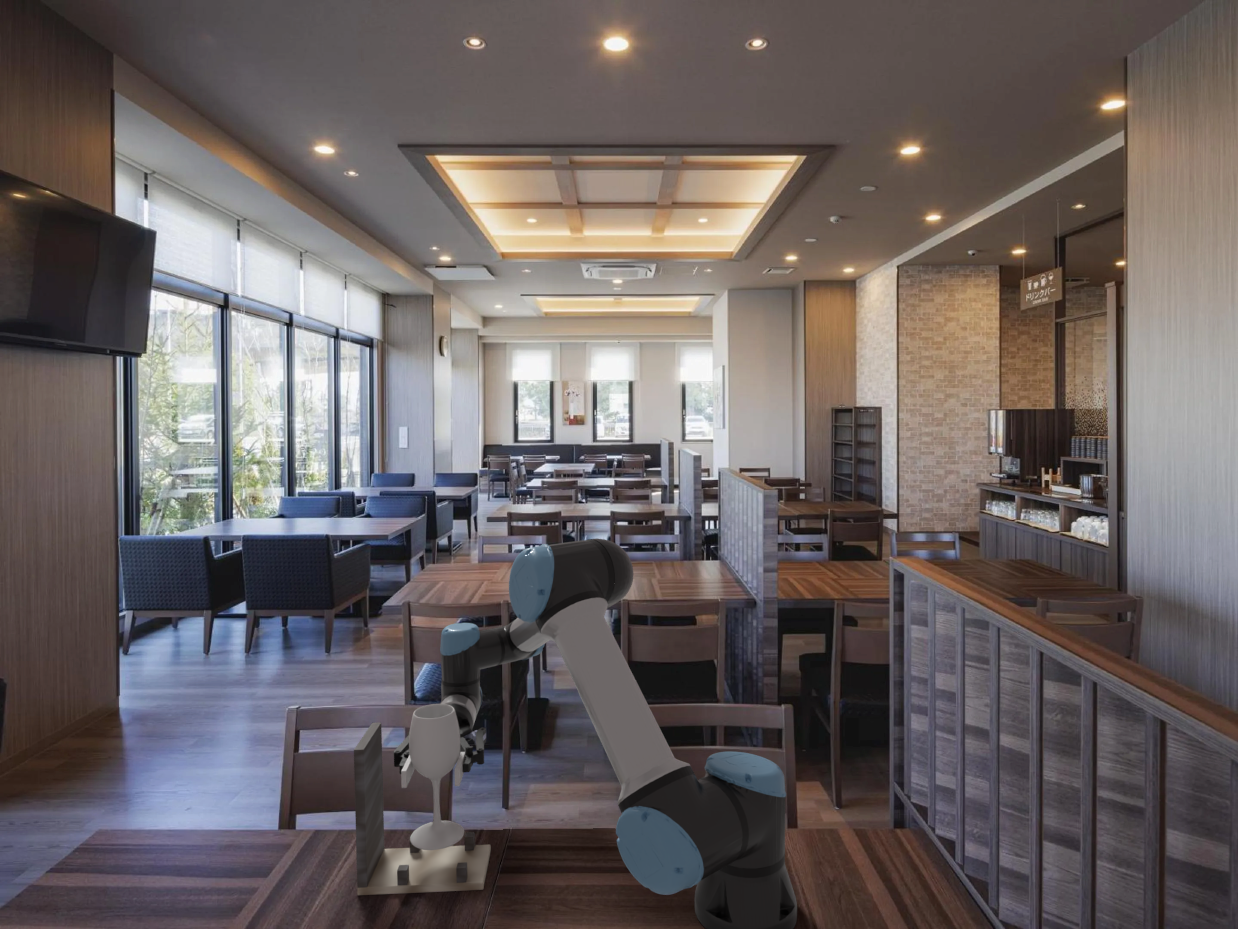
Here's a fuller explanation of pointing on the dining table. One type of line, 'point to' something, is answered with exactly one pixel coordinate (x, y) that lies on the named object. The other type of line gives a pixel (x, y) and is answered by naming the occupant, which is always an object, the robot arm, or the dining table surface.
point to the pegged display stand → (412, 864)
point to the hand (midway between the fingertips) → (430, 778)
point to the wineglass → (435, 768)
